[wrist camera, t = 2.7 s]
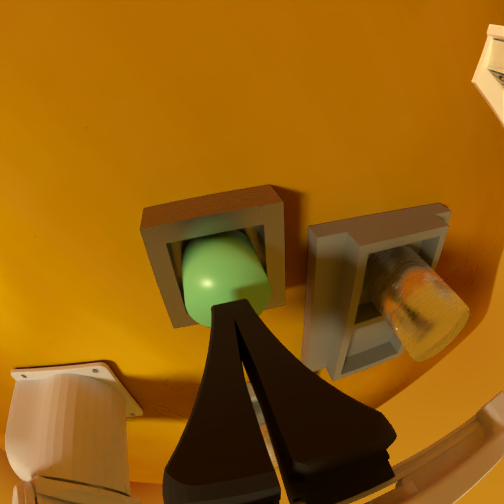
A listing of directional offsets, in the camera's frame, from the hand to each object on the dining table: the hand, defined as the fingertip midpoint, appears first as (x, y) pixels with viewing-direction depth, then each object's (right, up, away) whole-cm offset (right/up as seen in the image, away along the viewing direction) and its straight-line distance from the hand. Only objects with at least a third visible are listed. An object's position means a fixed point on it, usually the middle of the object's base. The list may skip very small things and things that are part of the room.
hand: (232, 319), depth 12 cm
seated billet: (+9, +2, +6) cm, 11 cm away
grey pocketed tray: (+9, 0, +9) cm, 13 cm away
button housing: (-1, +3, +4) cm, 5 cm away
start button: (-1, +2, +3) cm, 4 cm away
